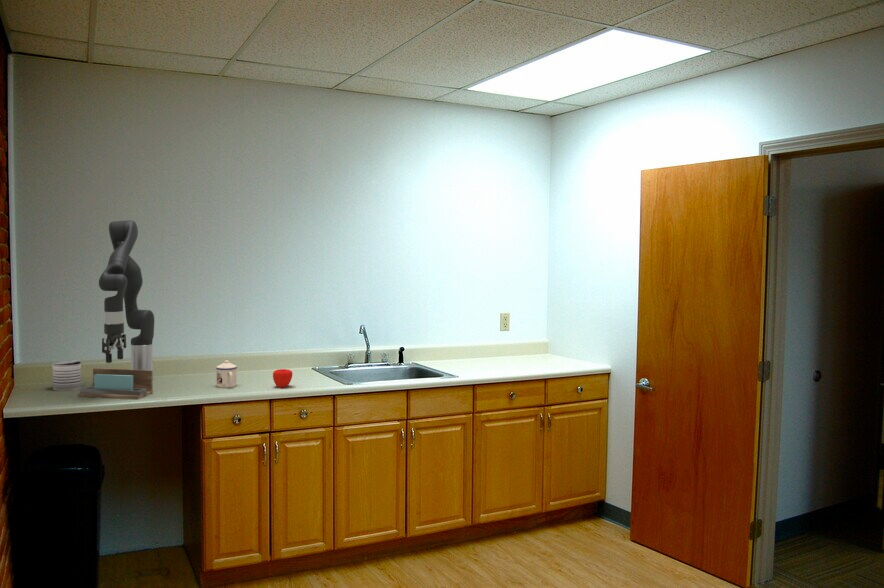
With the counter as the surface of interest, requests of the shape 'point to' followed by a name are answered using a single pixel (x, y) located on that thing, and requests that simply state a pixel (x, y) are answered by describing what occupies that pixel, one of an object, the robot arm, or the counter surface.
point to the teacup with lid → (226, 375)
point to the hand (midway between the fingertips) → (114, 360)
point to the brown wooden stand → (140, 390)
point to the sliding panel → (113, 382)
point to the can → (66, 375)
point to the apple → (282, 377)
